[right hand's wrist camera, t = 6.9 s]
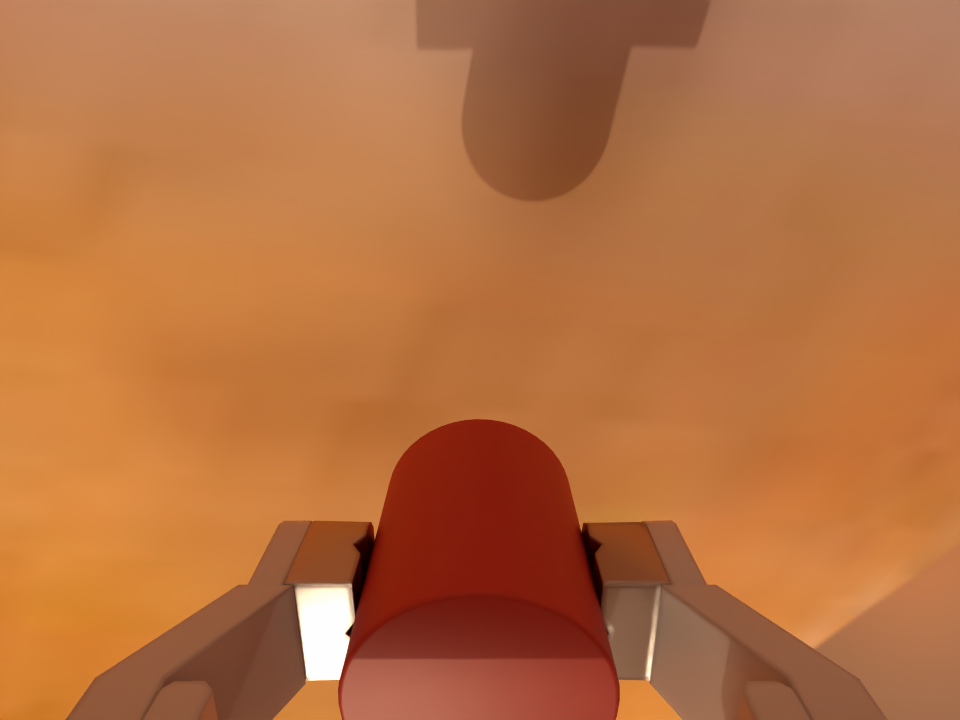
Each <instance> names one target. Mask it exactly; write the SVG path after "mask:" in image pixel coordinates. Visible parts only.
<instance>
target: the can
mask: <svg viewBox="0 0 960 720" xmlns="http://www.w3.org/2000/svg"><path fill="white" fill-rule="evenodd" d="M338 699H339V707H340V712H341V716H342V720H616V717H617V712H618V706H619V700H620V686H619V681H618V675H617V671H616V667H615V663H614V659H613V655H612V651H611V647H610V643H609V639H608V635H607V631H606V627H605V623H604V619H603V615H602V612H601V608H600V604H599V600H598V596H597V592H596V588H595V584H594V580H593V576H592V572H591V568H590V564H589V560H588V556H587V553H586V549H585V545H584V541H583V537H582V533H581V529H580V525H579V521H578V517H577V513H576V509H575V505H574V501H573V497H572V494H571V490H570V486H569V482H568V478H567V476H566V473H565V470H564V468H563V466H562V464H561V462H560V461H559V459H558V458H557V456H556V455H555V454H554V452H553V451H552V450H551V449H550V448H549V447H548V446H547V445H546V444H545V443H544V442H542V441H541V440H540V439H539V438H537V437H536V436H534V435H533V434H531V433H529V432H528V431H526V430H524V429H521V428H519V427H517V426H514V425H511V424H508V423H504V422H500V421H494V420H482V419H475V420H464V421H459V422H454V423H450V424H447V425H444V426H441V427H439V428H437V429H435V430H433V431H431V432H429V433H427V434H426V435H424V436H423V437H421V438H420V439H418V440H417V441H416V442H415V443H414V444H412V445H411V446H410V447H409V448H408V450H407V451H406V452H405V453H404V454H403V455H402V457H401V458H400V460H399V461H398V463H397V465H396V467H395V469H394V471H393V473H392V477H391V480H390V483H389V487H388V491H387V495H386V499H385V503H384V507H383V511H382V514H381V518H380V522H379V526H378V530H377V534H376V538H375V542H374V546H373V550H372V553H371V557H370V561H369V565H368V569H367V573H366V577H365V581H364V585H363V588H362V592H361V596H360V600H359V604H358V608H357V612H356V616H355V620H354V624H353V627H352V631H351V635H350V639H349V643H348V647H347V651H346V655H345V659H344V662H343V666H342V670H341V674H340V680H339V687H338Z"/></svg>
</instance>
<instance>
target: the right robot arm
mask: <svg viewBox="0 0 960 720" xmlns="http://www.w3.org/2000/svg"><path fill="white" fill-rule="evenodd" d="M582 537H583V541H584V545H585V549H586V553H587V556H588V560H589V564H590V568H591V572H592V576H593V580H594V584H595V588H596V592H597V596H598V600H599V604H600V608H601V612H602V615H603V619H604V623H605V627H606V631H607V635H608V639H609V643H610V647H611V651H612V655H613V659H614V663H615V667H616V671H617V675H618V679H619V680H650V684H651V685H652V686H653V687H654V688H655V690H656V691H657V692H658V693H659V694H660V695H661V696H662V697H663V698H664V699H665V700H666V702H667V703H668V704H669V705H670V706H671V707H672V708H673V709H674V710H675V711H676V713H677V714H678V715H679V716H680V717H681V718H682V719H683V720H887V718H886V717H885V715H884V714H883V712H882V711H881V709H880V708H879V707H878V705H877V704H876V702H875V701H874V699H873V698H872V697H871V695H870V694H869V692H868V691H867V689H866V688H865V686H864V685H863V683H862V682H861V681H860V679H859V678H857V677H856V676H854V675H852V674H851V673H849V672H848V671H846V670H845V669H843V668H842V667H840V666H839V665H837V664H836V663H834V662H833V661H831V660H830V659H828V658H827V657H825V656H823V655H822V654H820V653H819V652H817V651H816V650H814V649H813V648H811V647H810V646H808V645H807V644H805V643H804V642H802V641H801V640H799V639H798V638H796V637H795V636H793V635H792V634H790V633H789V632H787V631H785V630H784V629H782V628H781V627H779V626H778V625H776V624H775V623H773V622H772V621H770V620H769V619H767V618H766V617H764V616H763V615H761V614H760V613H758V612H757V611H755V610H754V609H752V608H750V607H749V606H747V605H746V604H744V603H743V602H741V601H740V600H738V599H737V598H735V597H734V596H732V595H731V594H729V593H728V592H726V591H725V590H723V589H722V588H720V587H719V586H717V585H707V583H706V581H705V579H704V578H703V576H702V574H701V572H700V570H699V568H698V566H697V564H696V562H695V560H694V558H693V556H692V554H691V552H690V550H689V548H688V546H687V544H686V542H685V540H684V538H683V537H682V535H681V533H680V531H679V529H678V527H677V525H676V523H674V522H673V521H671V520H668V521H642V522H609V523H583V527H582ZM374 542H375V538H374V529H373V525H372V523H371V522H343V521H313V522H312V521H284V522H282V523H280V524H279V525H278V527H277V529H276V531H275V533H274V535H273V537H272V539H271V541H270V542H269V544H268V546H267V548H266V550H265V552H264V554H263V556H262V558H261V560H260V562H259V564H258V566H257V568H256V570H255V571H254V573H253V575H252V577H251V579H250V581H249V583H248V585H238V586H236V587H235V588H233V589H232V590H230V591H229V592H227V593H225V594H224V595H222V596H221V597H219V598H218V599H216V600H215V601H213V602H212V603H210V604H209V605H207V606H205V607H204V608H202V609H201V610H199V611H198V612H196V613H195V614H193V615H192V616H190V617H189V618H187V619H185V620H184V621H182V622H181V623H179V624H178V625H176V626H175V627H173V628H172V629H170V630H168V631H167V632H165V633H164V634H162V635H161V636H159V637H158V638H156V639H155V640H153V641H152V642H150V643H148V644H147V645H145V646H144V647H142V648H141V649H139V650H138V651H136V652H135V653H133V654H132V655H130V656H128V657H127V658H125V659H124V660H122V661H121V662H119V663H118V664H116V665H115V666H113V667H111V668H110V669H108V670H107V671H105V672H104V673H102V674H101V675H99V676H98V677H96V678H95V679H94V681H93V682H92V683H91V685H90V686H89V688H88V689H87V690H86V692H85V693H84V695H83V696H82V697H81V699H80V700H79V702H78V703H77V704H76V706H75V707H74V709H73V710H72V712H71V713H70V714H69V716H68V717H67V719H66V720H272V719H273V718H274V717H275V716H276V715H277V714H278V713H279V712H280V711H281V710H282V709H283V707H284V706H285V705H286V704H287V703H288V702H289V701H290V700H291V699H292V698H293V697H294V696H295V694H296V693H297V692H298V691H299V690H300V689H301V688H302V687H303V686H304V685H305V680H335V679H340V674H341V670H342V666H343V662H344V659H345V655H346V651H347V647H348V643H349V639H350V635H351V631H352V627H353V624H354V620H355V616H356V612H357V608H358V604H359V600H360V596H361V592H362V588H363V585H364V581H365V577H366V573H367V569H368V565H369V561H370V557H371V553H372V550H373V546H374Z"/></svg>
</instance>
